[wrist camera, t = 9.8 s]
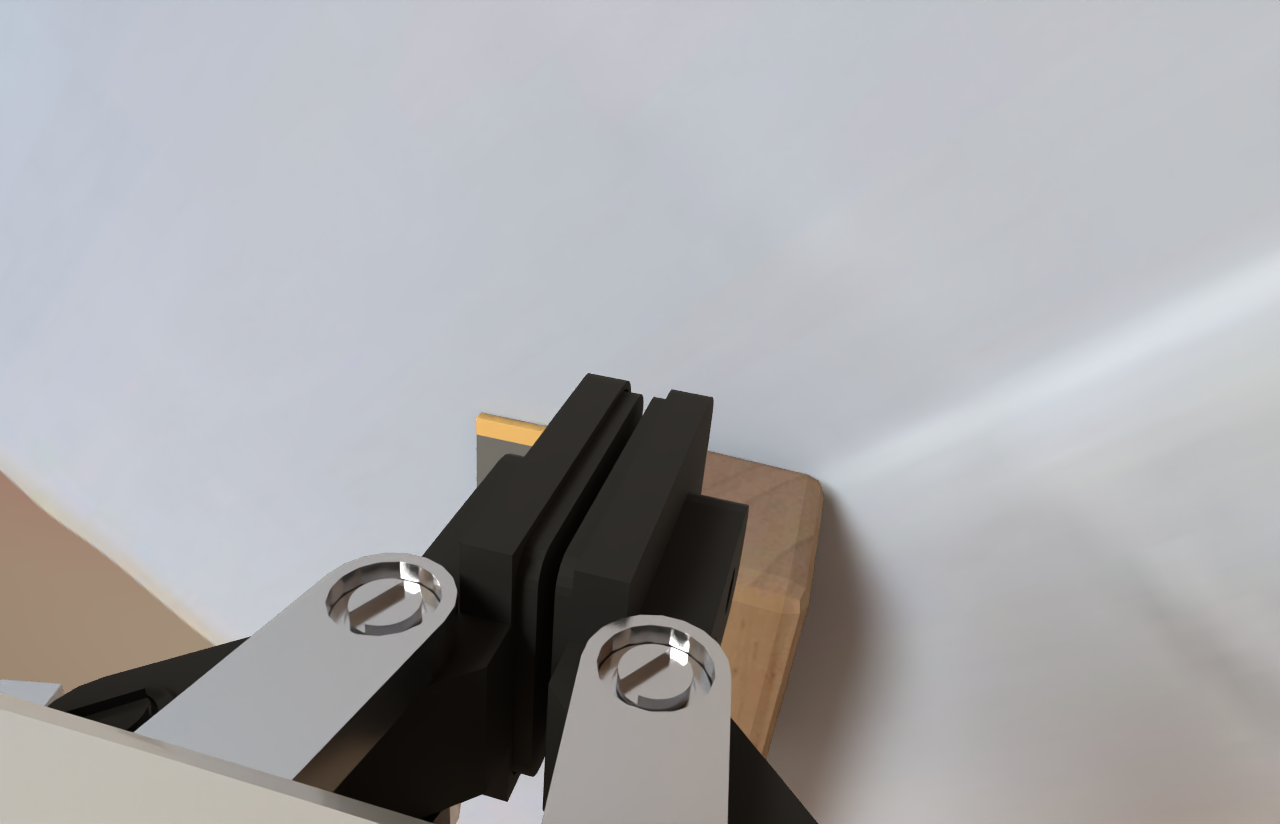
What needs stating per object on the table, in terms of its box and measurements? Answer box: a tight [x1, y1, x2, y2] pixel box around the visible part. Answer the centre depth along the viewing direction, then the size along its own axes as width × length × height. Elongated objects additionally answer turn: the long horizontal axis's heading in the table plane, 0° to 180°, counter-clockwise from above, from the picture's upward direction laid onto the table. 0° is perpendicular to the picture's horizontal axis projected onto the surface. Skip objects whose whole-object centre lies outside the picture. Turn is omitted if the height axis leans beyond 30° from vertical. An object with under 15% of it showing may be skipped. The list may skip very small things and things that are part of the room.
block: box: [701, 451, 824, 759], centre depth 44 cm, size 10×10×20 cm
